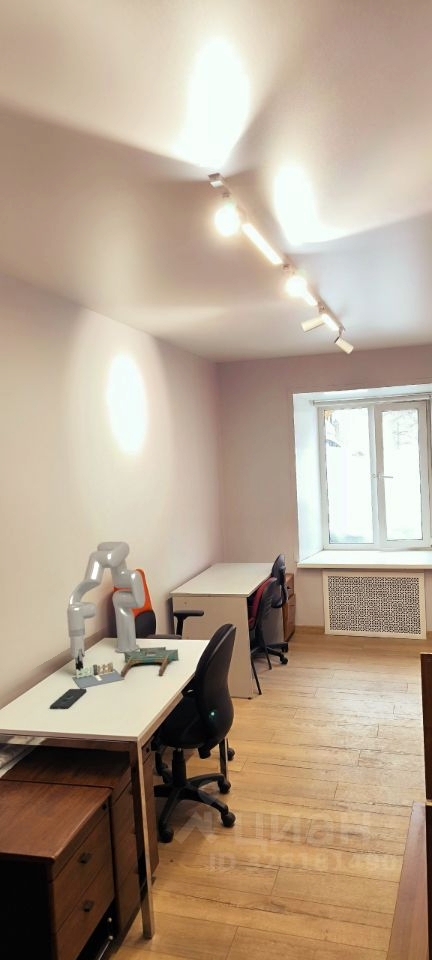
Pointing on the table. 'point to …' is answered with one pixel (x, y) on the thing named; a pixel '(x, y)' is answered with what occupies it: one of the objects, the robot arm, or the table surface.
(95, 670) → the fixed fence section
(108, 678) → the card
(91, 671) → the folding fence panel
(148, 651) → the miniature gate
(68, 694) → the smart home device
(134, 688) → the table surface
